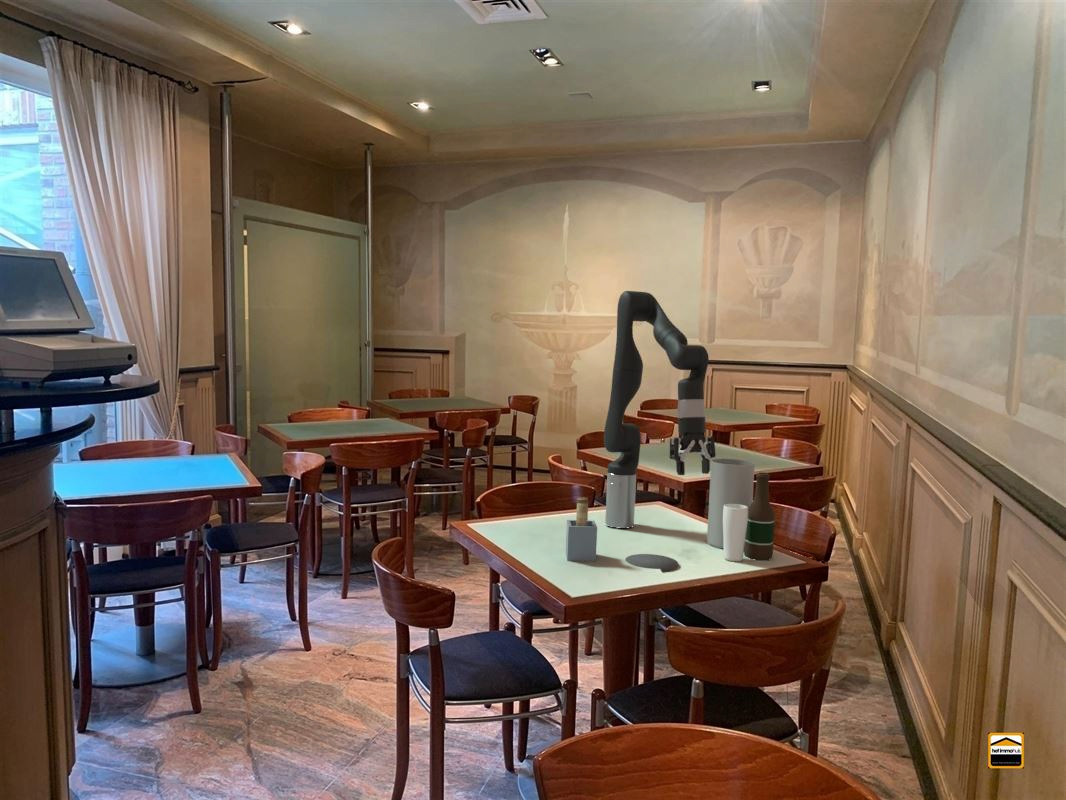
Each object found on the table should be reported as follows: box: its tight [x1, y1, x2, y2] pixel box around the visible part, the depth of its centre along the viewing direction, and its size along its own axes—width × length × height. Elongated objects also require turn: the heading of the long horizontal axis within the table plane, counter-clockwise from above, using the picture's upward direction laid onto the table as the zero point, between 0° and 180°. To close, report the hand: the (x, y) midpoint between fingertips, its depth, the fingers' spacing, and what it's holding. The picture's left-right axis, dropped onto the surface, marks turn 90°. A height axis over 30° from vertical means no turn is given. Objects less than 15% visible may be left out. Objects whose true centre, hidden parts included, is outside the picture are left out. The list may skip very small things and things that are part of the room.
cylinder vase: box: [706, 458, 755, 550], centre depth 232 cm, size 12×12×25 cm
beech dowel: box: [575, 497, 590, 526], centre depth 210 cm, size 3×3×16 cm
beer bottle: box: [743, 472, 776, 561], centre depth 219 cm, size 8×8×24 cm
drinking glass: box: [723, 504, 748, 562], centre depth 216 cm, size 7×7×15 cm
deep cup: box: [565, 519, 598, 562], centre depth 210 cm, size 8×8×10 cm
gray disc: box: [625, 553, 679, 572], centre depth 209 cm, size 14×14×1 cm
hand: (693, 474), depth 217 cm, fingers open, 8 cm apart
